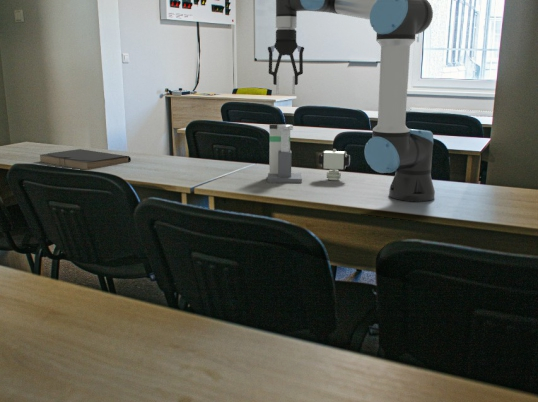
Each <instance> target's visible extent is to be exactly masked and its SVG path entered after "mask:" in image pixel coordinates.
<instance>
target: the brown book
mask: <svg viewBox="0 0 538 402" xmlns="http://www.w3.org/2000/svg"><path fill="white" fill-rule="evenodd" d="M39 159H40V162H41V163H46V164H51V165H56V166H57V165H58V166H64V167H70V168H76V169H77V168H78V169H82V170H87V171H89V170H96V169H101V168H106V167H110V166H115V165H120V164H125V163H131V161H132V158H131V157H130V155H124V154H116V153H109V152H103V151H96V150H90V149H84V148H83V149H82V148H78V149H71V150H70V149H69V150H62V151H56V152H55V151H54V152H49V153H42V154H39Z"/></svg>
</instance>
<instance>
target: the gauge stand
mask: <svg viewBox="0 0 538 402" xmlns="http://www.w3.org/2000/svg"><path fill="white" fill-rule="evenodd" d="M268 152H269V159H268V160H269V164H268V166H269V168H268V169H269V171H268V173H267V180H266V181H267V183H269V184H270V183H272V184H273V183H280V184H282V183H283V184H287V183H288V184H289V183H292V184H293V183H296V184H301V183H303V181H302V180H303V178H302V173H301V172H292V150H291V130H289V152H281V130H277V129H269V151H268Z"/></svg>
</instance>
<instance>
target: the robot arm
mask: <svg viewBox="0 0 538 402" xmlns="http://www.w3.org/2000/svg"><path fill="white" fill-rule="evenodd" d="M433 11H434V10H433V7H432V4H431V3H430V1H428V0H275V14H276V15H275V28H276V30H275V43H274V44H273V45H271V46H268V47H267V51H268V74H269V75H272V77H273V81H272V82H273V85H274V86H275V87H276V90H275V91H276V93H275V94H276V95H279V93H280V92H279V89H280V88H279V83H280V81H279V79H280V77H279V75H278V71H279V67H280V64H281V61H282V57H283V56H289V57H290V62H291V65H292V71H293V74H294V75H292V89H291V90H292V95H295V89H296V88H295V87H296V86H297V85H298V83H299V76H301V75H303V73H304V69H303V67H304V66H303V65H304V64H303V63H304V59H303V58H304V57H303V56H304V51H305V47H304V46H301V45H298V42H297V30H296V28H297V25H298V24H297V20H298V19H297V18H298V17H297V14H298V12H316V13H317V12H318V13H319V12H321V13H329V14H337V15H342V16H348V17H354V18H358V19H359V18H360V19H365V20H369V25H370V26H371V28H372V29H373V31H374V32H375V33H376V37H375V38H376V42H377V43H378V44H379V45H380V64H379V86H378V88H379V90H378V92H379V93H378V111H377V115H378V116H377V123H376V124H377V125H375V126H374V127H373V128H372V137H371V138H369V140H368V141H367V142H366V143H365V146H364V151H363V152H364V158H365V161H366V162H367V164H368V166H369V167H370V168H371V169H372V170H373V171H375V172H377V173H380V174H384V173H385V174H386V173H388V174H390V173H394V172H395V173H394V174H395V175H394V177H393V178H392V181H391V184H390V186H389V190H388V191H389V192H388V196H389V197H390V198H392V199H395V200H399V201H403V202H404V201H406V202H427V201H432V200H434V199H435V196H436V195H435V193H436V191H435V187H434V183H433V179H432V163H433V149H434V144H435V143H434V134H433V132H432V131H431V130H425V129H424V130H423V129H414V128H413V129H412V128H408V127H407V125H406V118H407V100H408V86H409V85H408V82H409V63H410V48H411V47H410V46H411V45H412V44H413V43H414V42H415V41H416V35H418V34H421V33H423V32H424V31H426V30H427V29H428V28H429V26H430V25H431V23H432V21H433V17H434V12H433ZM275 49H276V51H277V52H278V56H277V60H276V64H275V68H274V71H273V56H274V55H273V53H274V51H275ZM296 50H297V52H298V54H299V55H298V63H299V64H298V67H299V69H298V70H297V65H296V61H295V58H294V53H295V51H296Z"/></svg>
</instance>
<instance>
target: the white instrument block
mask: <svg viewBox="0 0 538 402" xmlns="http://www.w3.org/2000/svg"><path fill="white" fill-rule="evenodd" d="M270 129H277V130H281V152H289V130H290V131H293V130H294V125H293V124H276V123H275V124H274V123H273V124H272V123H271V124H270V123H269V130H270Z"/></svg>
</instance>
